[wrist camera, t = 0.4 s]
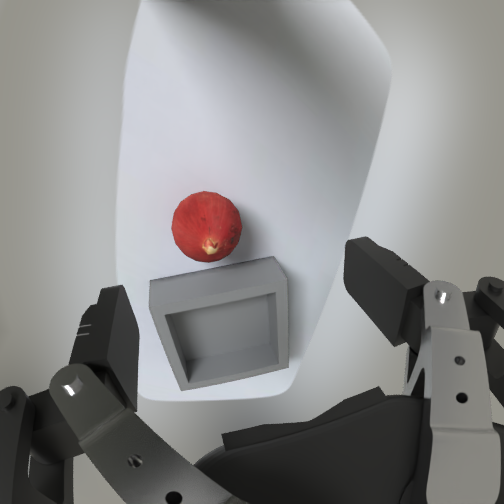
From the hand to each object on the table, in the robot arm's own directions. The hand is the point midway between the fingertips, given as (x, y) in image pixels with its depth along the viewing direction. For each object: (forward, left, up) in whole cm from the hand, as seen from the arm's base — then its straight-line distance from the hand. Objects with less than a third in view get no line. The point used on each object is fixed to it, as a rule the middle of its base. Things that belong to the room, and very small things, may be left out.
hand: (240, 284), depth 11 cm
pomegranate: (+5, 0, -19) cm, 20 cm away
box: (+18, 0, -19) cm, 26 cm away
